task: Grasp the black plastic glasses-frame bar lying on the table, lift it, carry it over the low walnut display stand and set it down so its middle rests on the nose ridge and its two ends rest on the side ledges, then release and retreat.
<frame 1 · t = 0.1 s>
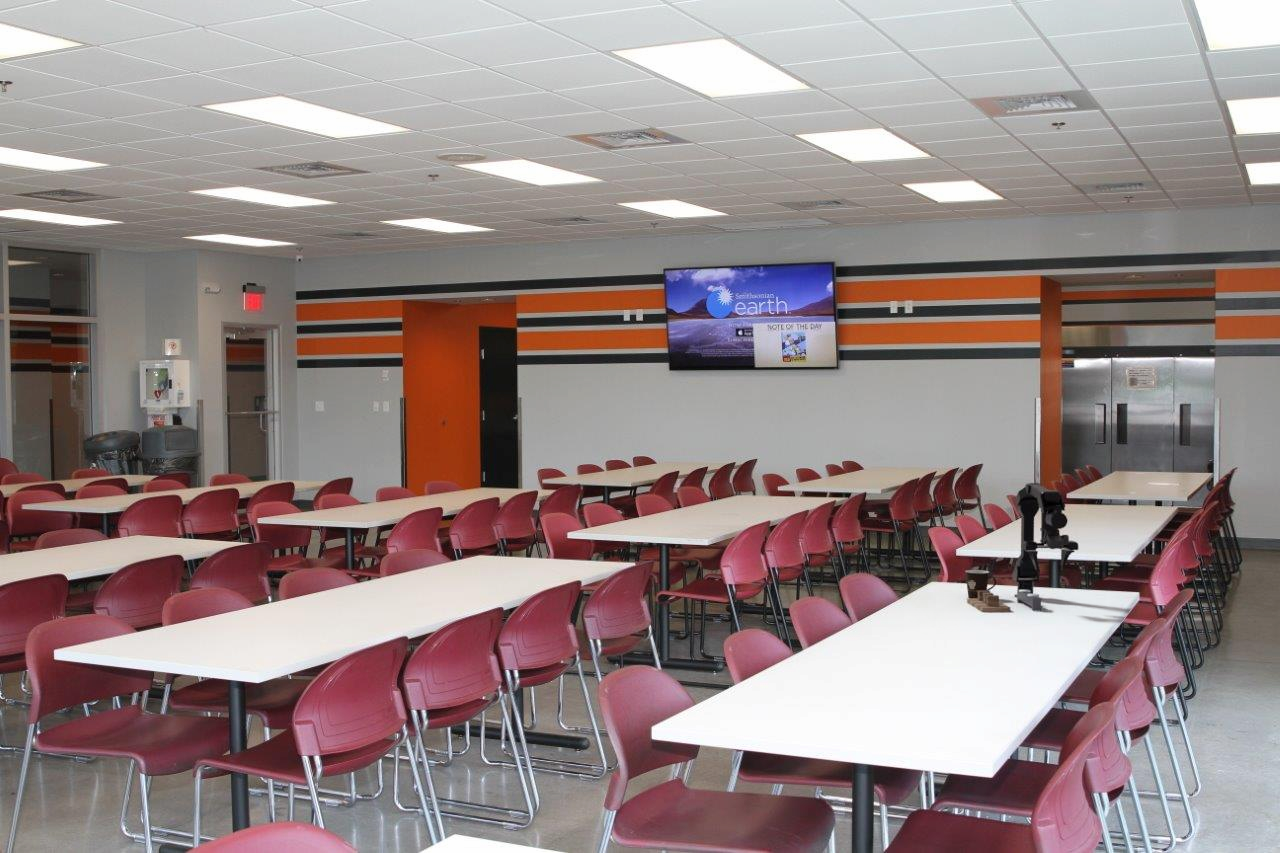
hand: (1049, 569, 432), 14 cm above the table, fingers open, 9 cm apart
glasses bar: (1028, 606, 441), on the table
display stand: (988, 607, 440), on the table
coffee mug: (979, 599, 459), on the table
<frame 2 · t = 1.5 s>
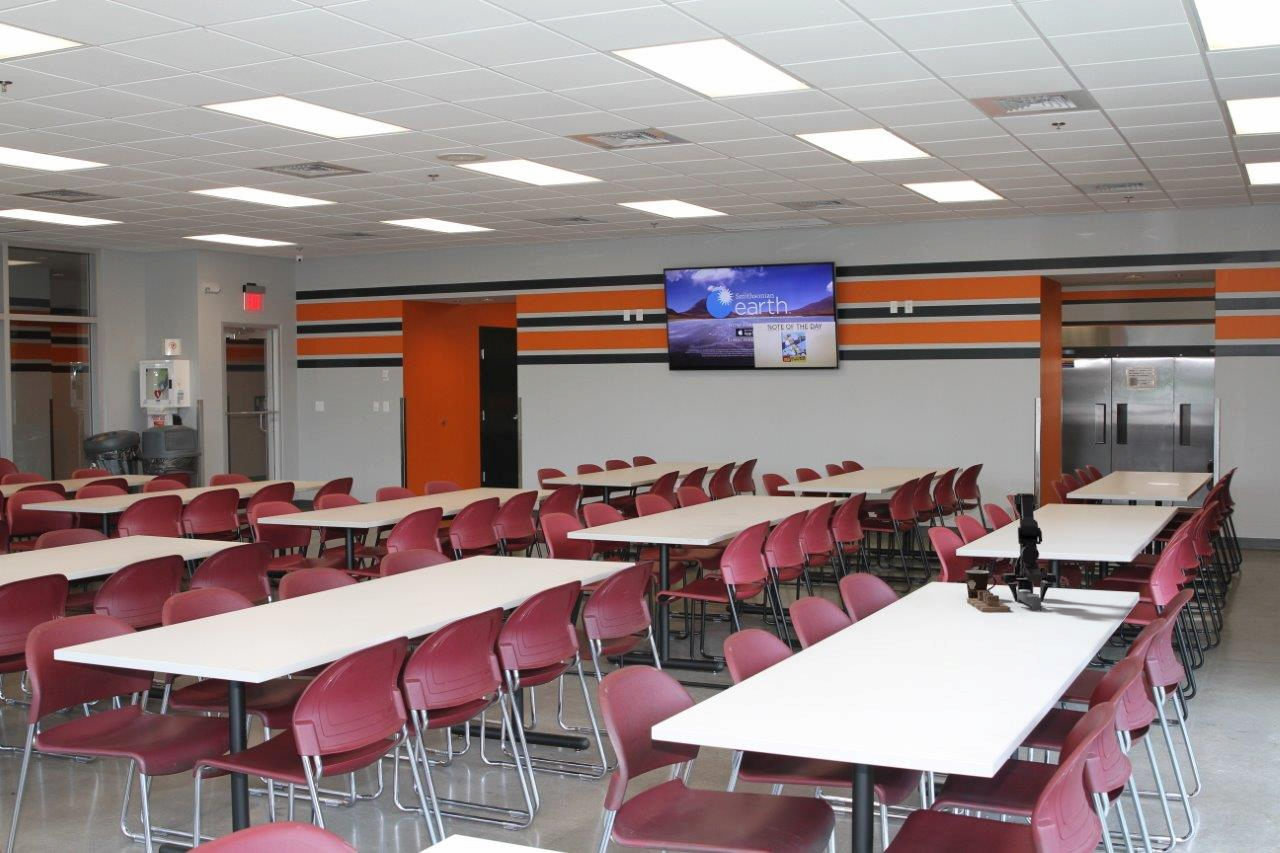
hand: (1028, 601, 441), 2 cm above the table, fingers open, 9 cm apart
nothing on the table moved.
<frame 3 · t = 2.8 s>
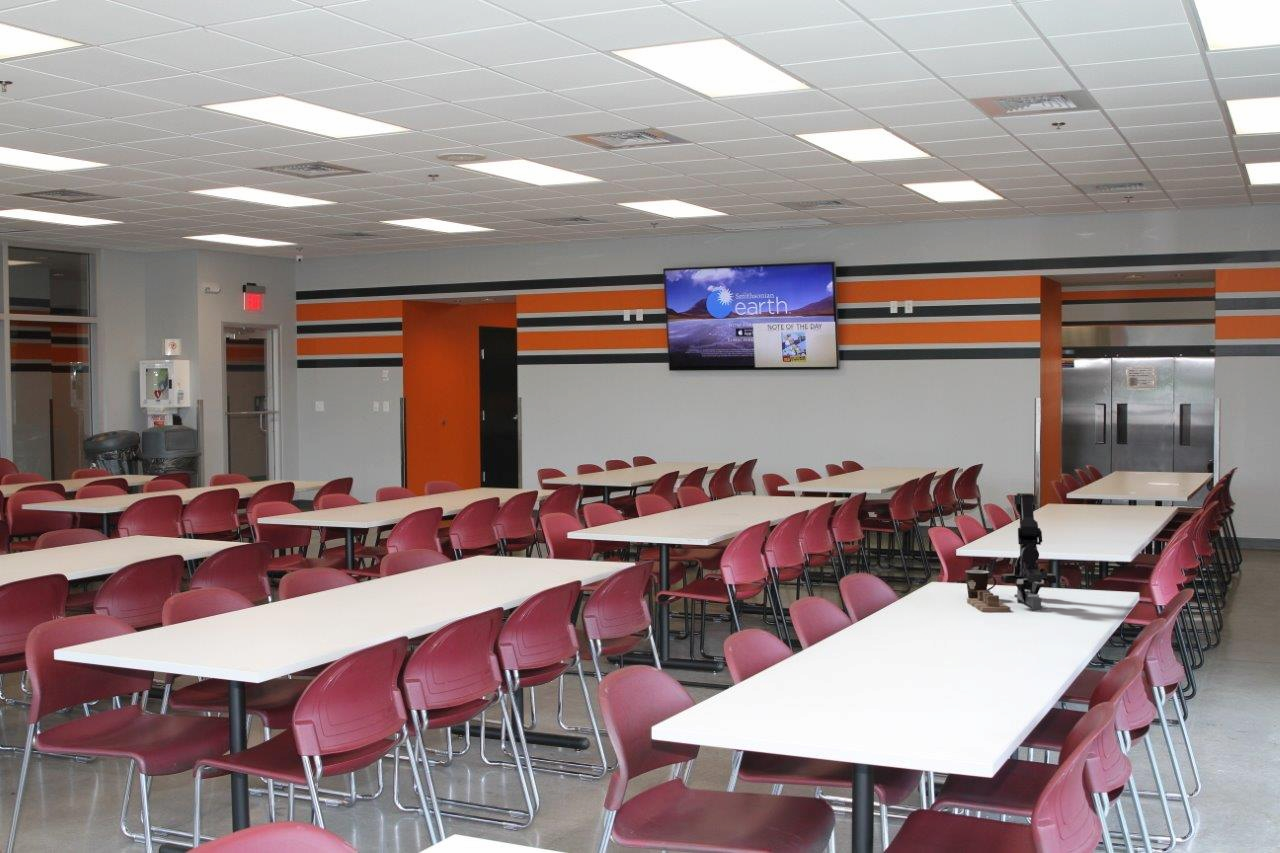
hand: (1028, 602, 441), 2 cm above the table, fingers closed on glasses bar, 3 cm apart
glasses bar: (1028, 606, 441), on the table, touching gripper
everything else where it was.
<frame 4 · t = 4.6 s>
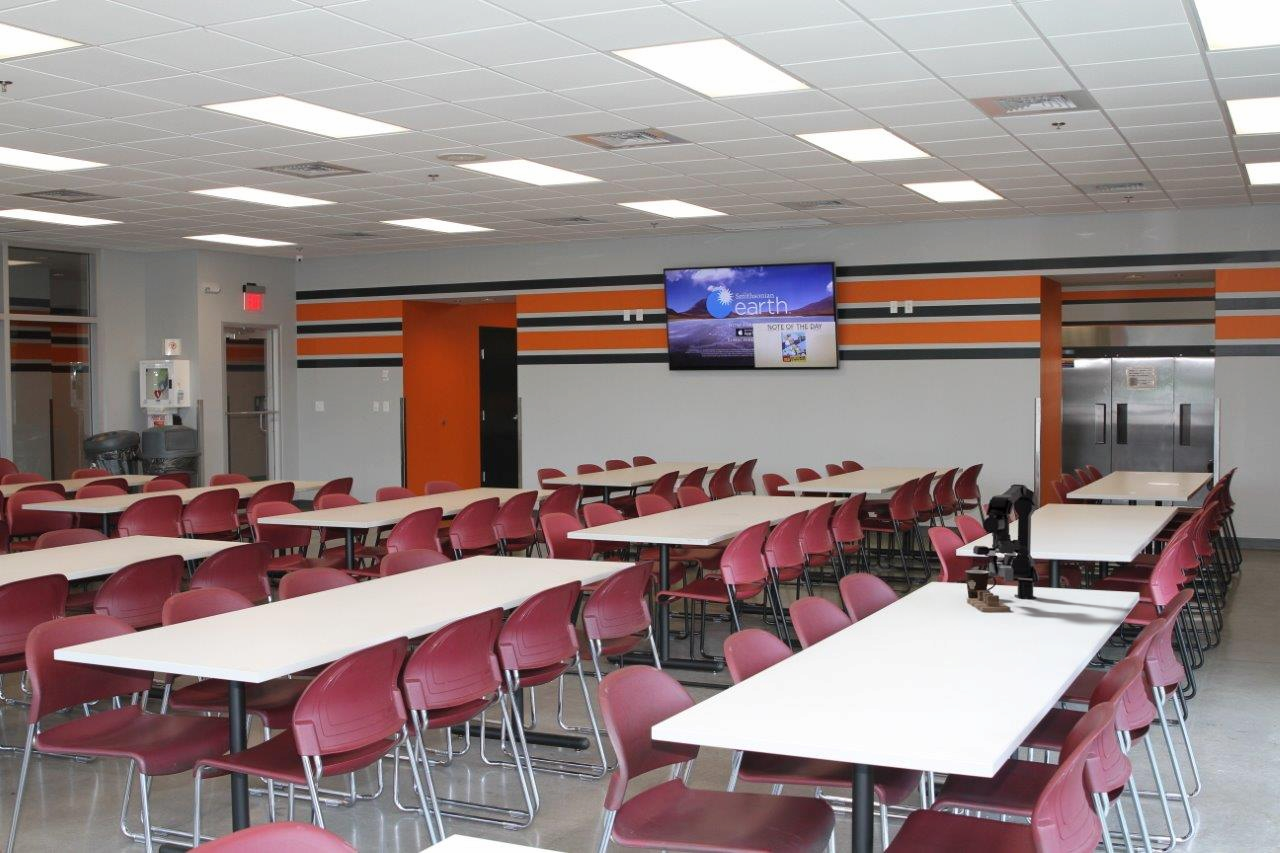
hand: (1000, 574, 439), 12 cm above the table, fingers closed on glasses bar, 3 cm apart
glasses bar: (1001, 578, 439), point 10 cm above the table, touching gripper
everything else where it was.
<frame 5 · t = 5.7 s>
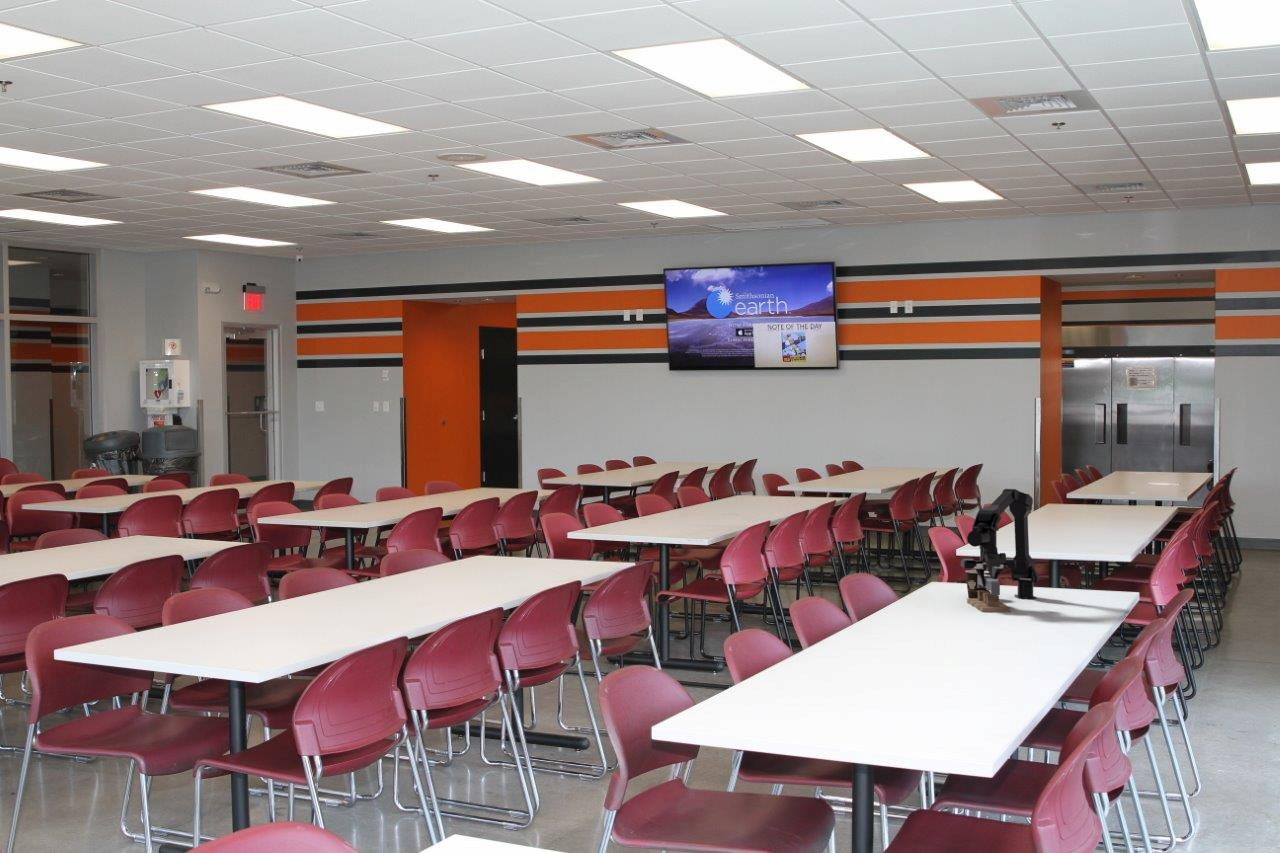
hand: (988, 587, 440), 7 cm above the table, fingers closed on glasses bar, 3 cm apart
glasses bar: (988, 591, 440), point 6 cm above the table, touching gripper
everything else where it was.
when the fingers open (6 cm above the table, at t = 6.5 s): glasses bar drops 1 cm, resting on display stand.
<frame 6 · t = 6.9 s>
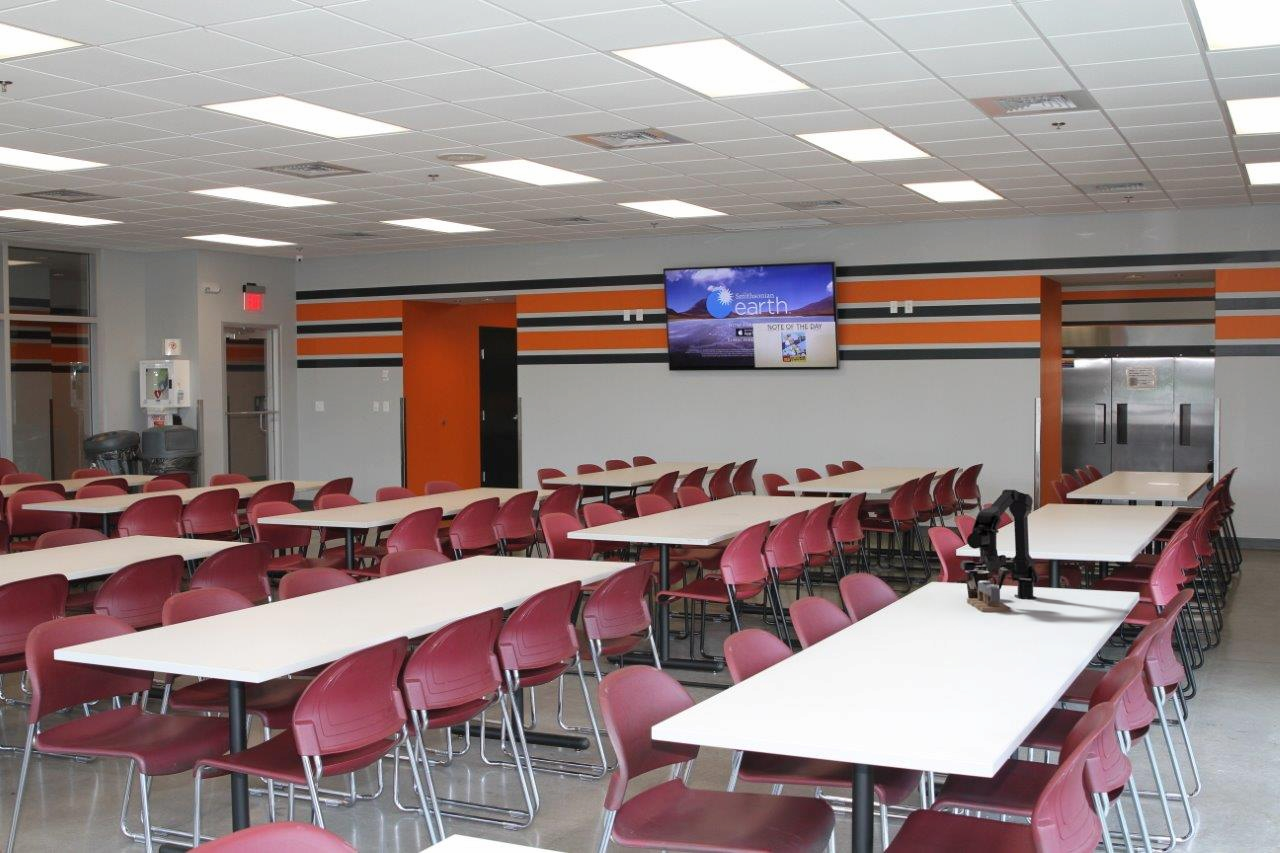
hand: (988, 589, 440), 6 cm above the table, fingers open, 8 cm apart
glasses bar: (988, 597, 440), point 3 cm above the table, touching display stand
everything else where it was.
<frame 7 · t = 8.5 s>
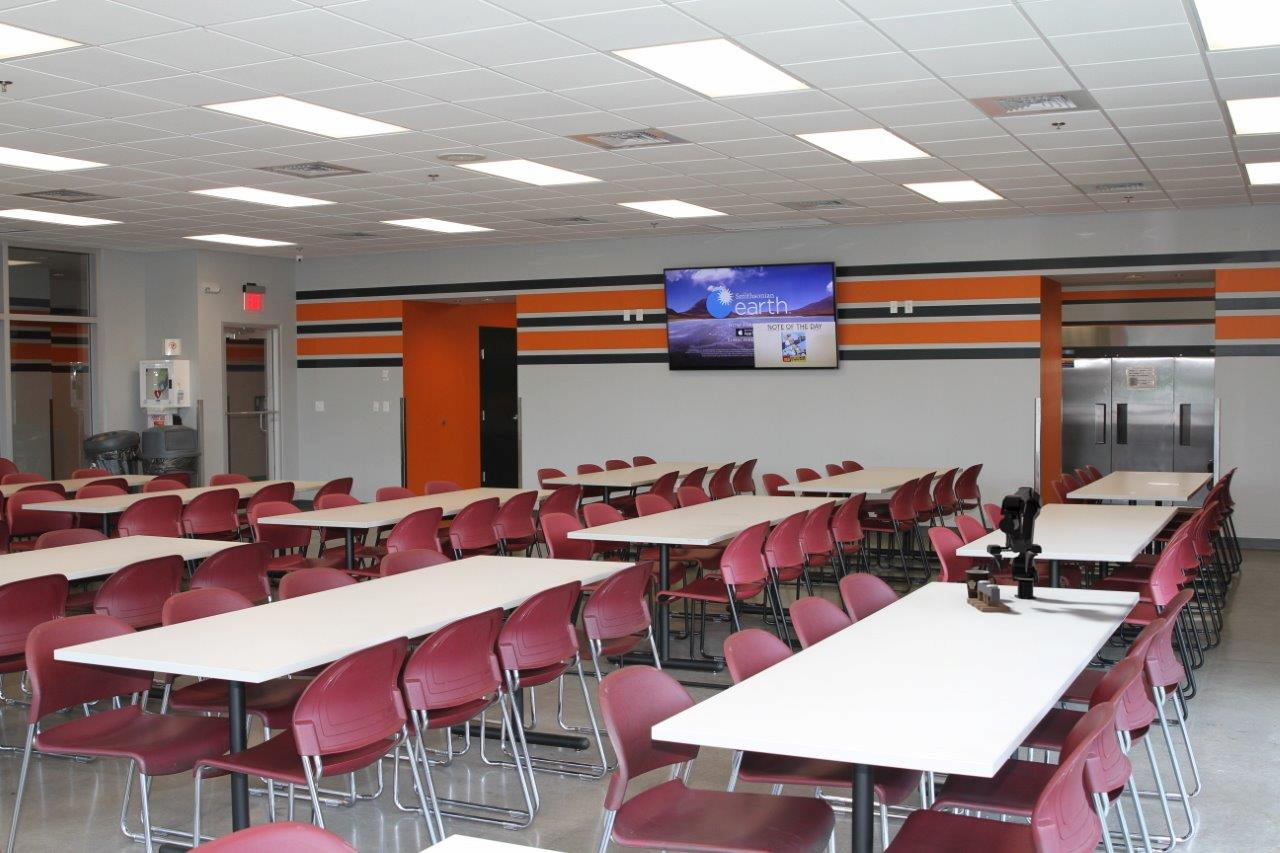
hand: (1014, 572, 446), 12 cm above the table, fingers open, 9 cm apart
nothing on the table moved.
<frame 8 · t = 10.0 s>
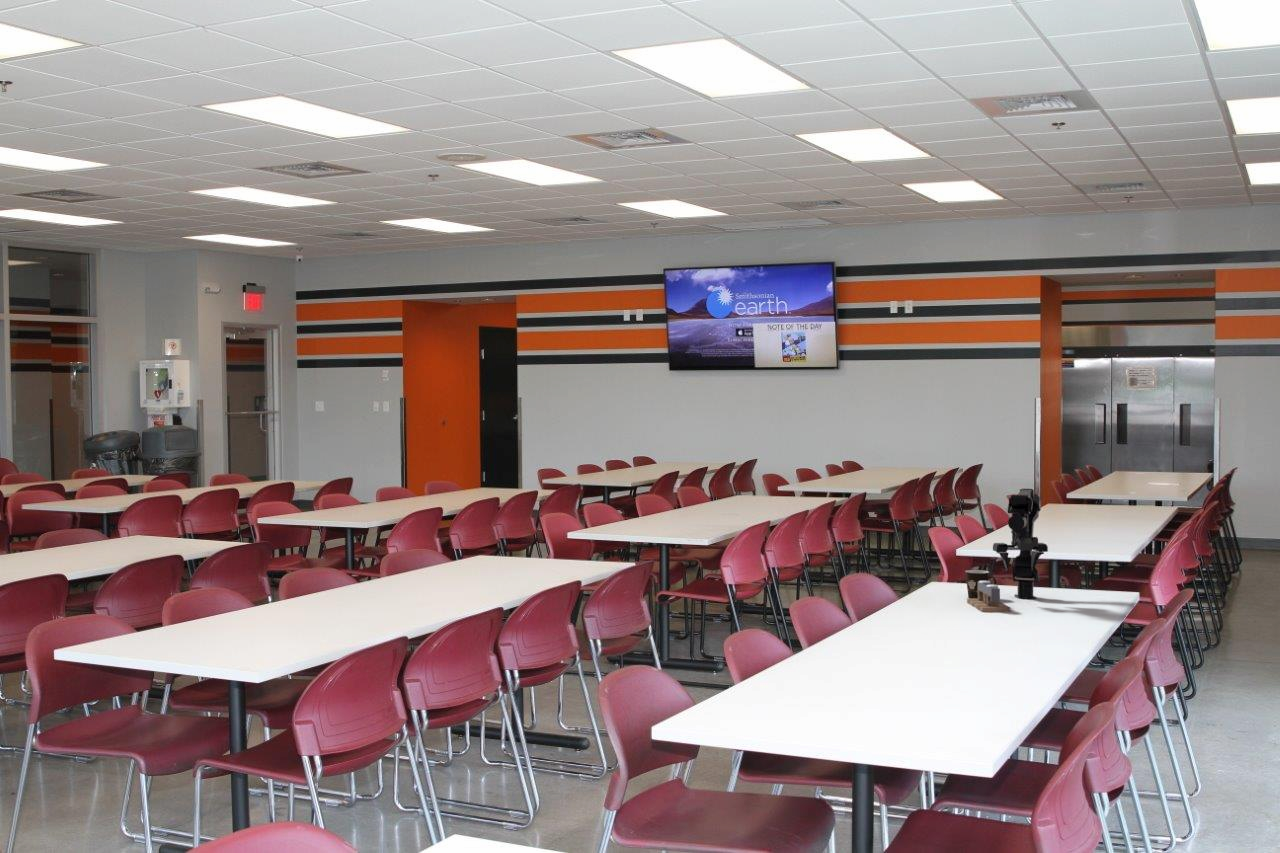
hand: (1020, 570, 448), 12 cm above the table, fingers open, 9 cm apart
nothing on the table moved.
at the end: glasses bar 0.1 cm off-centre on the display stand, point 3.5 cm above the display stand's base; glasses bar tilted 0°; the gripper is holding nothing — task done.
